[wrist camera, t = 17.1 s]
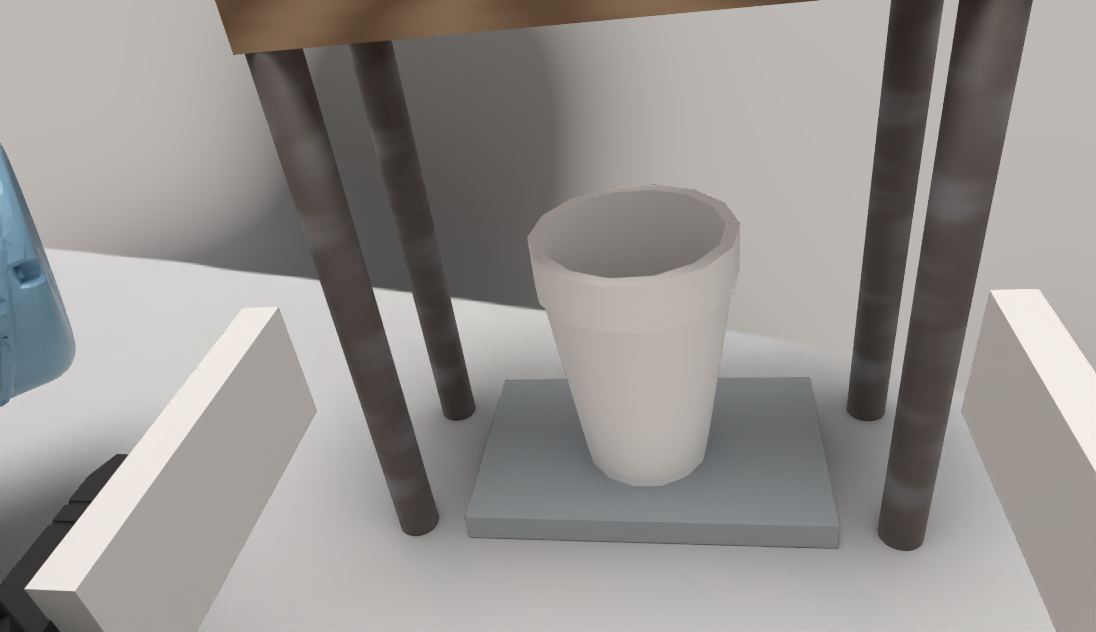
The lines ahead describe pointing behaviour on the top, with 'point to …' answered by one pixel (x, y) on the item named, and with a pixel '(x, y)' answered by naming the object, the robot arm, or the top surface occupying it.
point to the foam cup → (639, 320)
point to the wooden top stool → (507, 3)
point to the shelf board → (675, 508)
